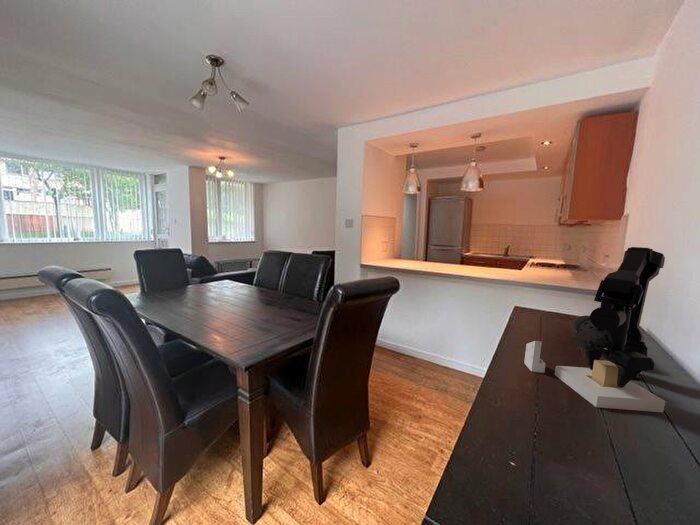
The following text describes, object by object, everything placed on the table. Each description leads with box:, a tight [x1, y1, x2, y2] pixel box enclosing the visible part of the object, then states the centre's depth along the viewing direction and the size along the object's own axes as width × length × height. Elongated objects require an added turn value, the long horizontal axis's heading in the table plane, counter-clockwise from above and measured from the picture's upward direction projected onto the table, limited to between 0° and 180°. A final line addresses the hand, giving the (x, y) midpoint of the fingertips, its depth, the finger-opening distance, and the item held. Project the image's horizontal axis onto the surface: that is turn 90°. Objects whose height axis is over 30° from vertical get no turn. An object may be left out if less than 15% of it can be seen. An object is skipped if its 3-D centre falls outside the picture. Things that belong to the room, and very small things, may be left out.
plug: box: [591, 359, 618, 388], centre depth 78 cm, size 4×4×8 cm
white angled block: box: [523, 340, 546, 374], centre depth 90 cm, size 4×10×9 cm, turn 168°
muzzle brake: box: [572, 315, 610, 360], centre depth 109 cm, size 10×28×10 cm, turn 158°
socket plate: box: [554, 365, 666, 413], centre depth 79 cm, size 16×16×3 cm
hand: (605, 378), depth 78 cm, fingers open, 9 cm apart
